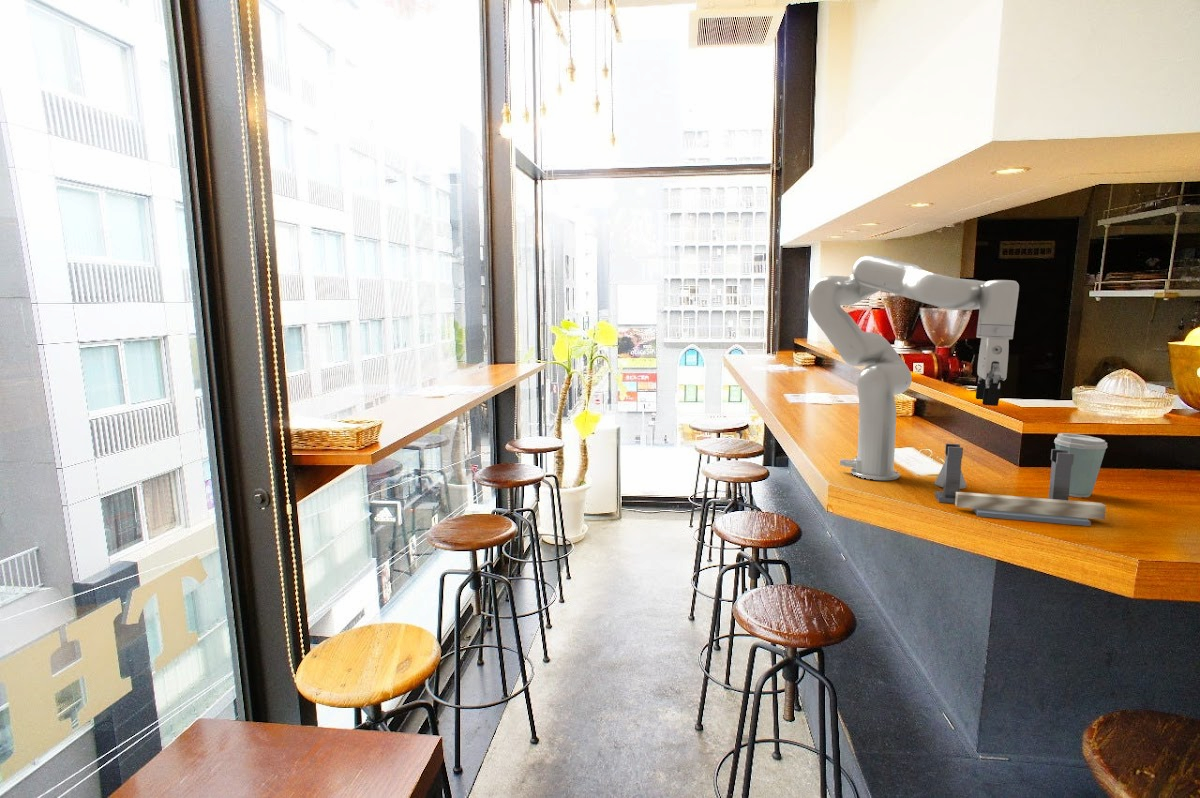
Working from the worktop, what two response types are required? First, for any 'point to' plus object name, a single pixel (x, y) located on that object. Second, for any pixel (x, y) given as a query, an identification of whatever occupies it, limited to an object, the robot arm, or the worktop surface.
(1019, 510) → the rail
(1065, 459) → the grey holder stand
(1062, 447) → the disposable coffee cup
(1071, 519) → the mat
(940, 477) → the flask
